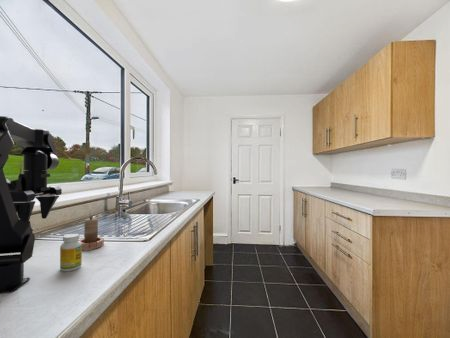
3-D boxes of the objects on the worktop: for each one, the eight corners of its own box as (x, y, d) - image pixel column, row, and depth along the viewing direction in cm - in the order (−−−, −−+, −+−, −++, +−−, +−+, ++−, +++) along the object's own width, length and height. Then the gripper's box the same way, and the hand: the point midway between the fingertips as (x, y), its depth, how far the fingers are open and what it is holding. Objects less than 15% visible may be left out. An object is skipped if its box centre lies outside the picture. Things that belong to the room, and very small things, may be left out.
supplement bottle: (64, 265, 72) (64, 233, 72) (84, 263, 74) (84, 232, 74) (56, 272, 67) (57, 238, 67) (77, 270, 68) (78, 237, 68)
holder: (98, 249, 86) (99, 243, 86) (73, 250, 85) (73, 244, 85) (106, 242, 95) (107, 236, 95) (83, 242, 93) (83, 237, 93)
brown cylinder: (97, 245, 89) (97, 214, 89) (83, 247, 87) (84, 215, 87) (97, 242, 93) (97, 212, 93) (84, 243, 91) (84, 213, 91)
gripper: (26, 169, 80) (26, 216, 81) (-22, 170, 62) (-22, 230, 62) (62, 170, 82) (62, 215, 82) (26, 171, 64) (25, 229, 64)
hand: (35, 221), depth 73 cm, fingers open, 9 cm apart
